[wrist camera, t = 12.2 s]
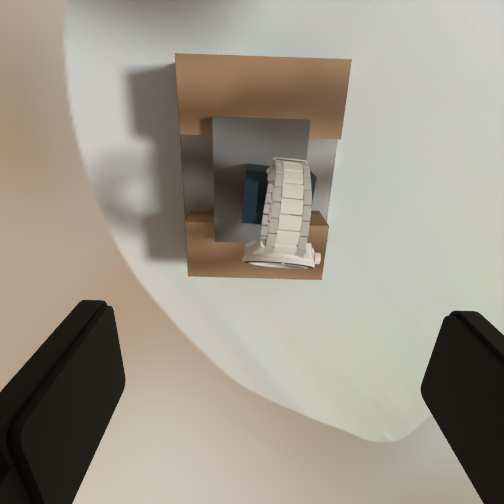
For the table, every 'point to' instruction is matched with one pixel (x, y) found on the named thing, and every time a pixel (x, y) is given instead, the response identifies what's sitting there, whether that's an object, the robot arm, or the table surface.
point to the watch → (280, 213)
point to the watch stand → (253, 148)
